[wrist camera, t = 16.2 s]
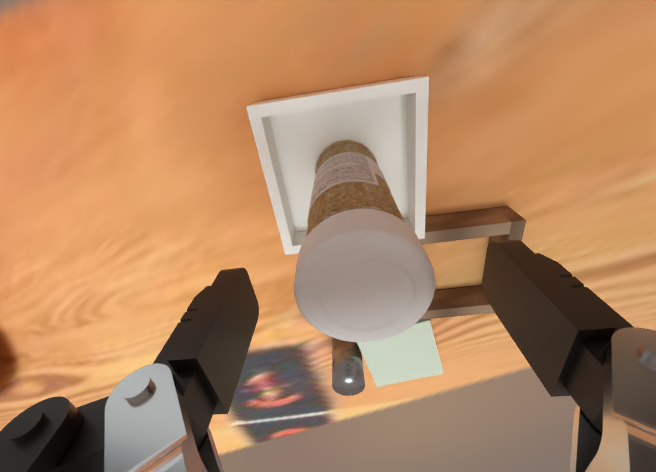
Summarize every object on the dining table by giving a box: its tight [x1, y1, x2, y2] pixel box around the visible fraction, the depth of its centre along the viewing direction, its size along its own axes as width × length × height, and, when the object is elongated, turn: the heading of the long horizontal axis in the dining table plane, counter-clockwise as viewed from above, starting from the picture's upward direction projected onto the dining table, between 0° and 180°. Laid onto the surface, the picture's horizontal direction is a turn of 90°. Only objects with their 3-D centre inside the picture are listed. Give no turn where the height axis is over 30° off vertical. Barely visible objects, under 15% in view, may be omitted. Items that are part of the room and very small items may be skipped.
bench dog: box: [332, 338, 365, 396], centre depth 29 cm, size 3×3×5 cm
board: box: [357, 319, 443, 387], centre depth 29 cm, size 7×8×3 cm
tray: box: [246, 76, 429, 255], centre depth 20 cm, size 10×10×3 cm
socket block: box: [419, 206, 526, 320], centre depth 24 cm, size 9×9×2 cm
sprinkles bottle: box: [294, 140, 435, 342], centre depth 15 cm, size 5×5×13 cm
